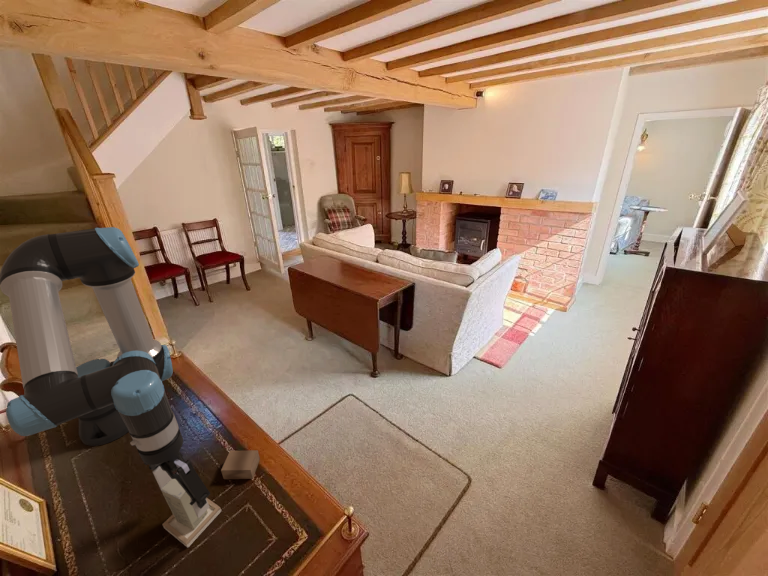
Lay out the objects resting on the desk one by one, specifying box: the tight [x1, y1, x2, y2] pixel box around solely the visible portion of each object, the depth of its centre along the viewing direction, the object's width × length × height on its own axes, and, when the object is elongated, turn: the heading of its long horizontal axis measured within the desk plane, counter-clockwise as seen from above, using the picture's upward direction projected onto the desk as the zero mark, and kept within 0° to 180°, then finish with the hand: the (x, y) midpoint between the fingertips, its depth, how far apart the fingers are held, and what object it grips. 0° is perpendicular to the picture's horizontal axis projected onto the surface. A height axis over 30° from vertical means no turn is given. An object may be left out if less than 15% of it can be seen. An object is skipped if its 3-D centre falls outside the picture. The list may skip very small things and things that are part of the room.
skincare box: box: [160, 479, 208, 530], centre depth 76 cm, size 6×4×12 cm
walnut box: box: [220, 449, 261, 480], centre depth 90 cm, size 8×6×4 cm
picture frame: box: [162, 497, 222, 548], centre depth 78 cm, size 9×9×2 cm
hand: (184, 497), depth 75 cm, fingers open, 13 cm apart
